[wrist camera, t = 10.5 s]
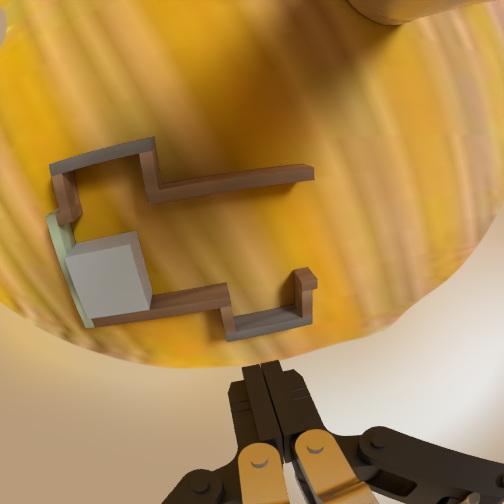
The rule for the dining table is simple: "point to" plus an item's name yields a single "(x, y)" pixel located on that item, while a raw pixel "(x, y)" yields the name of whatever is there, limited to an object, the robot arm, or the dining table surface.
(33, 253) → the dining table surface
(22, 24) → the dining table surface
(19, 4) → the dining table surface
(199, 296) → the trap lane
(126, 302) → the block
